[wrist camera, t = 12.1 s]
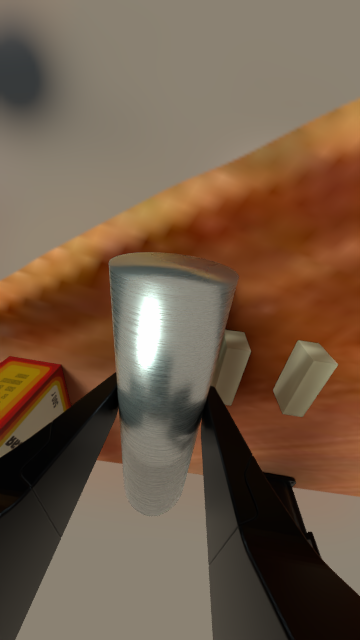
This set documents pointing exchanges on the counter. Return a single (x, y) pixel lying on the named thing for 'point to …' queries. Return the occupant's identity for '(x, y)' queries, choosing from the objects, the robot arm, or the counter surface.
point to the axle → (164, 365)
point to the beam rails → (294, 382)
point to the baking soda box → (29, 399)
